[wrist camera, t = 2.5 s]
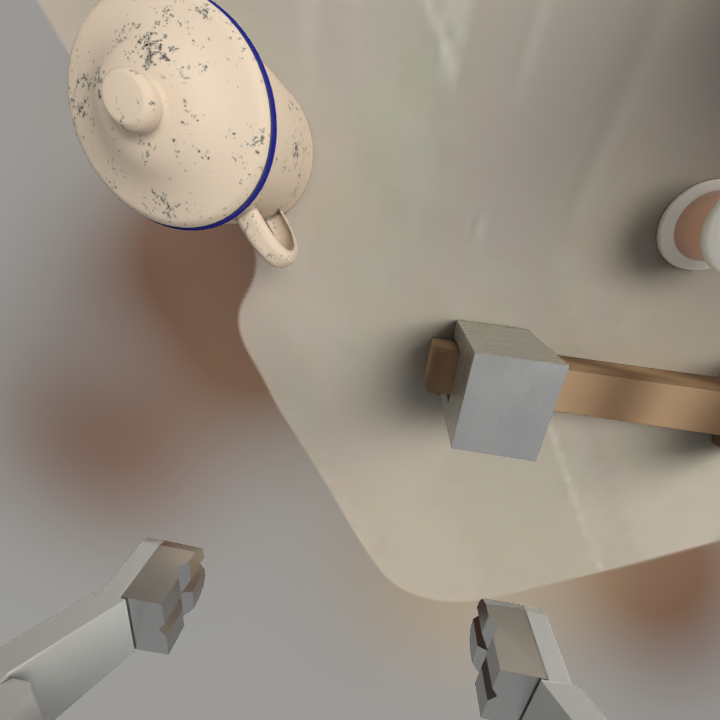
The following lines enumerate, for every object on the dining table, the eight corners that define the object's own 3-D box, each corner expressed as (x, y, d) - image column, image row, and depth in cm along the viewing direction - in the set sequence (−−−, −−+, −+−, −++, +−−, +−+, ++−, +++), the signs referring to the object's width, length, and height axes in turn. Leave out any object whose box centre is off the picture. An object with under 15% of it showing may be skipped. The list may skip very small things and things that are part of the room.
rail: (419, 397, 29) (426, 457, 21) (436, 311, 26) (450, 346, 19) (739, 445, 27) (860, 526, 20) (790, 359, 25) (950, 417, 18)
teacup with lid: (154, 124, 24) (-52, 45, 13) (266, 31, 21) (127, -162, 11) (258, 287, 27) (163, 332, 16) (365, 222, 25) (338, 224, 14)
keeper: (440, 397, 28) (451, 448, 22) (457, 320, 26) (474, 352, 20) (505, 406, 28) (535, 461, 22) (528, 329, 26) (569, 366, 19)
